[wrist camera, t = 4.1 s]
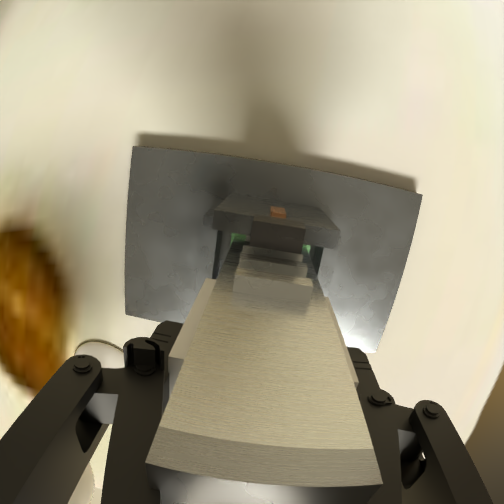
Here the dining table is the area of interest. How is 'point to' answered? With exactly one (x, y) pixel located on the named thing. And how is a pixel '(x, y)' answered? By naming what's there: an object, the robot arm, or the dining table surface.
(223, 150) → the dining table surface
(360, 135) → the dining table surface
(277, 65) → the dining table surface
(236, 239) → the column
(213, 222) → the stand base
